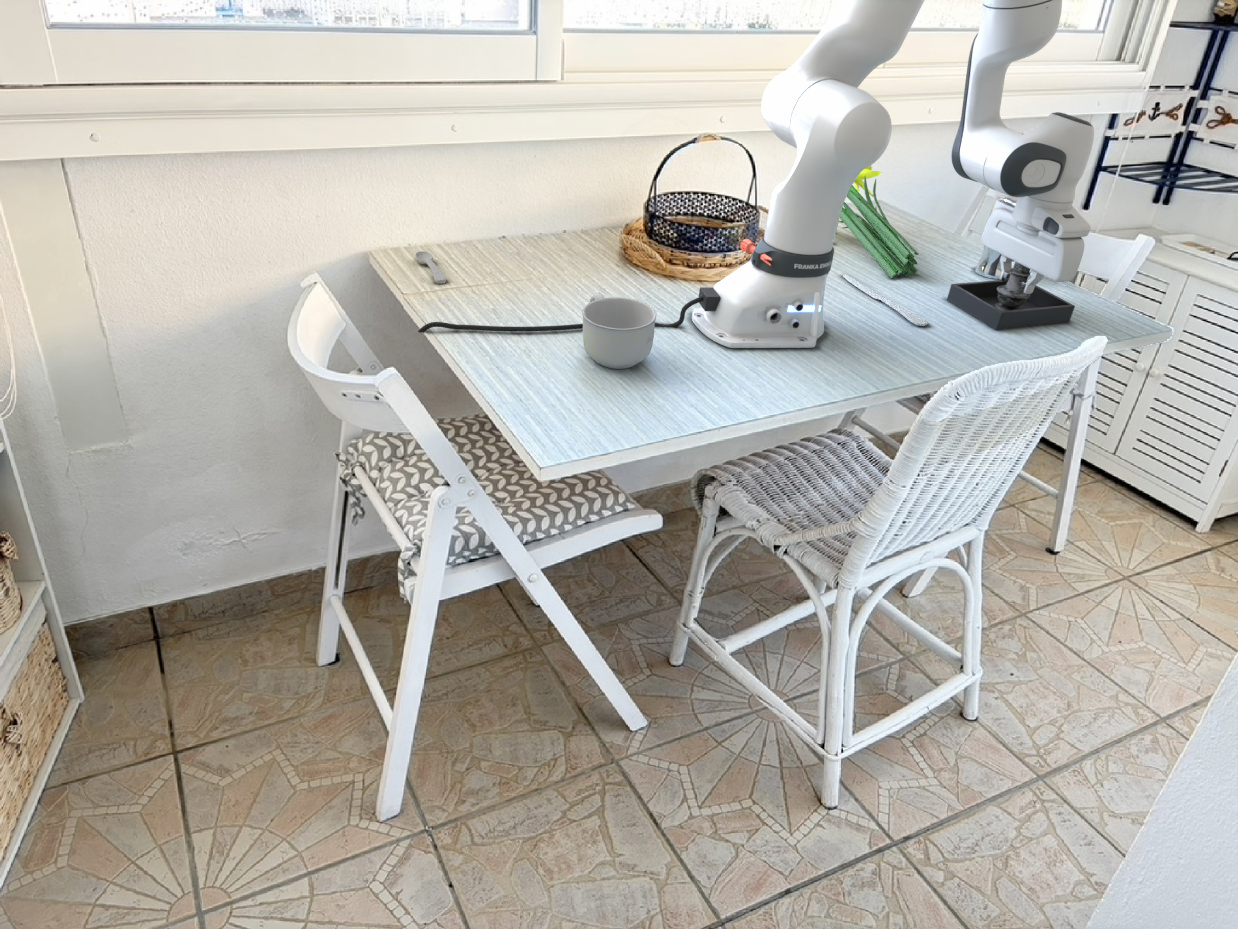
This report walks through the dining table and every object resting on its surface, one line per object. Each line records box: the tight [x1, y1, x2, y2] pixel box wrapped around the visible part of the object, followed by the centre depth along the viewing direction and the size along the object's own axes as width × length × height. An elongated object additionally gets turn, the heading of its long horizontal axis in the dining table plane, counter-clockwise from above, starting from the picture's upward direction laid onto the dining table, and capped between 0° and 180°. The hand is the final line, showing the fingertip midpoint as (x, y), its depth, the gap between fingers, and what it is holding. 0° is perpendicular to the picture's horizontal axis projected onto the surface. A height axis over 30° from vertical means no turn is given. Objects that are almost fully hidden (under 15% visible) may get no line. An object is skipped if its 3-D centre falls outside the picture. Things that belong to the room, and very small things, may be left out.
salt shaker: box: [993, 261, 1031, 311], centre depth 167 cm, size 6×6×12 cm
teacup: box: [581, 293, 657, 370], centre depth 137 cm, size 14×11×8 cm
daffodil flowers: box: [838, 165, 920, 280], centre depth 189 cm, size 17×15×35 cm
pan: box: [946, 279, 1076, 331], centre depth 169 cm, size 17×13×3 cm
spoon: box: [414, 250, 447, 285], centre depth 161 cm, size 3×12×2 cm, turn 27°
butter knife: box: [842, 273, 929, 327], centre depth 169 cm, size 1×24×3 cm
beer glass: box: [974, 194, 1018, 280], centre depth 183 cm, size 7×7×15 cm
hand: (1015, 286), depth 168 cm, fingers open, 4 cm apart
